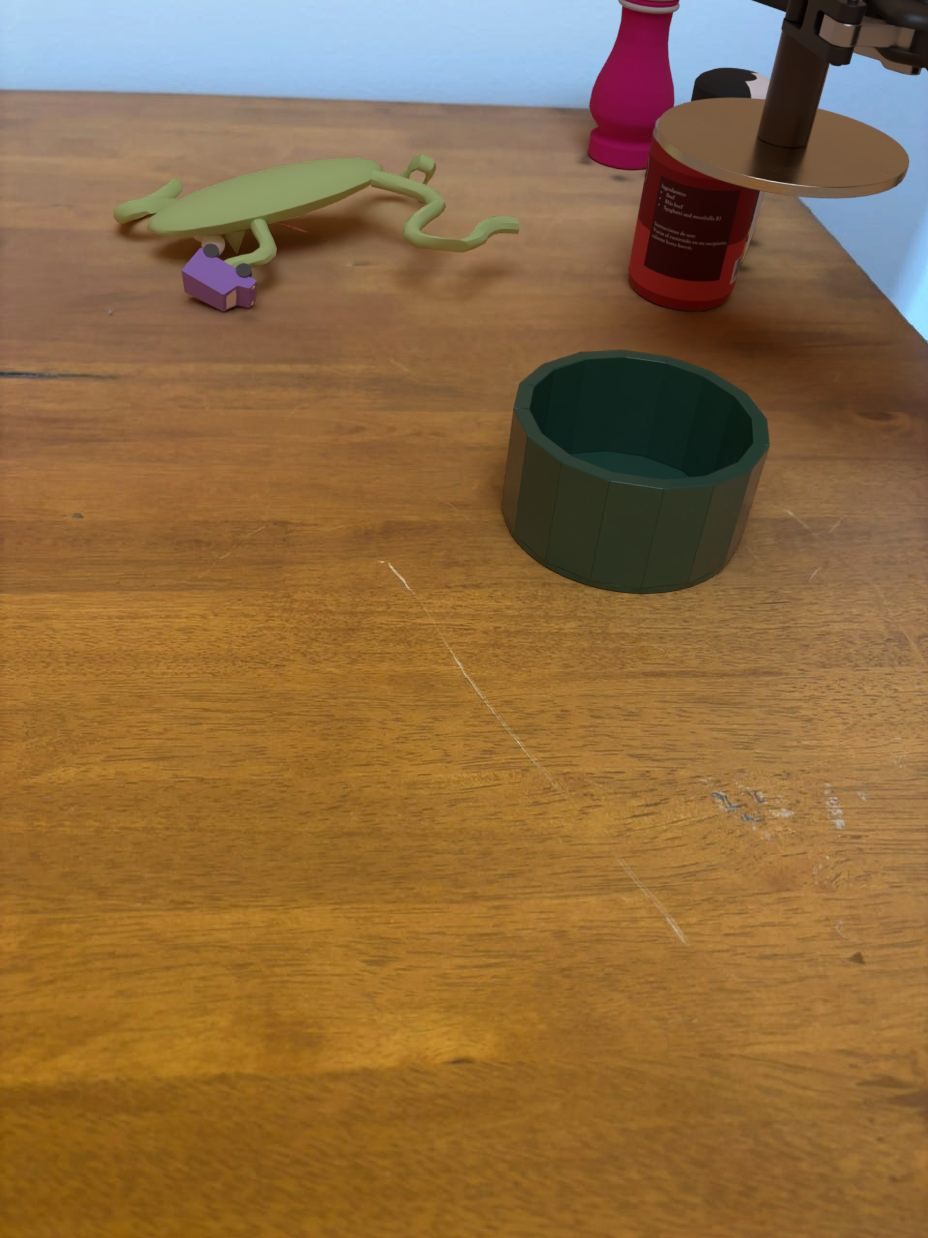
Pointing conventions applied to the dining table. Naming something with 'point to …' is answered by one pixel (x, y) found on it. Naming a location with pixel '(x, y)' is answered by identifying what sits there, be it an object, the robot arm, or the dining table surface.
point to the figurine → (283, 217)
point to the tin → (632, 469)
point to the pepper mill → (633, 85)
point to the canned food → (688, 234)
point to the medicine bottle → (733, 86)
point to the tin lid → (784, 137)
